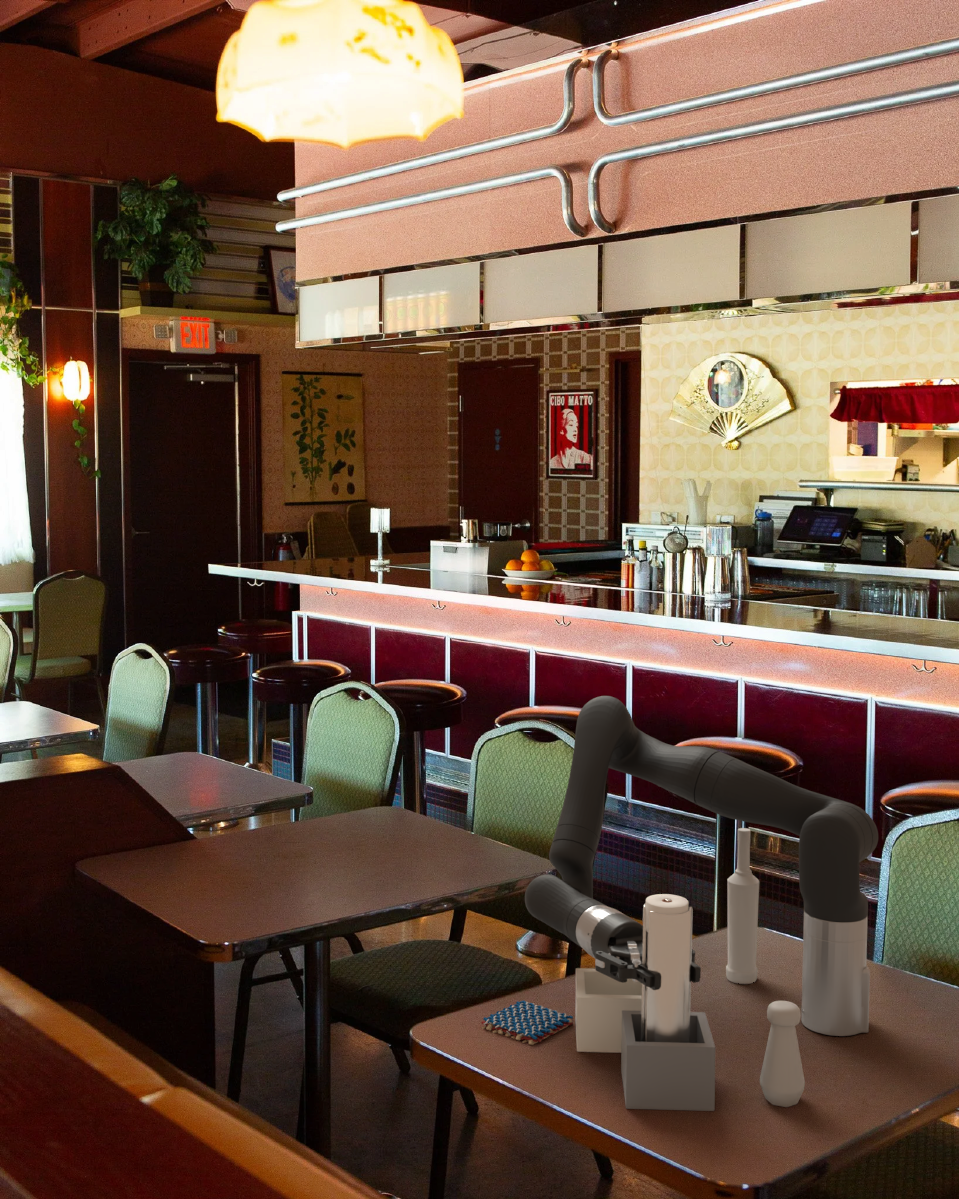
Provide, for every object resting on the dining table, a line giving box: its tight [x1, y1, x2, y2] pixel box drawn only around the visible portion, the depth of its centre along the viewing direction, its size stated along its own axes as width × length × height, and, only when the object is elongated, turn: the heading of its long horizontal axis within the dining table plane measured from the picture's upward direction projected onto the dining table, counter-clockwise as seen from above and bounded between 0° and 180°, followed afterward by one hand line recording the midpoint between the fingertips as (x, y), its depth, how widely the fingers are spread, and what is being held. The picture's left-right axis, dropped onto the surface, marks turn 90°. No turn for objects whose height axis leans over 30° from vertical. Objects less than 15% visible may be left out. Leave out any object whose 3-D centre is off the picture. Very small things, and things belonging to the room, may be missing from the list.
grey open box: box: [620, 1010, 716, 1112], centre depth 174 cm, size 11×11×8 cm
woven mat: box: [481, 1000, 574, 1046], centre depth 195 cm, size 10×11×2 cm
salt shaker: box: [759, 1000, 806, 1108], centre depth 171 cm, size 6×6×13 cm
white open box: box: [574, 967, 642, 1054], centre depth 191 cm, size 11×11×8 cm
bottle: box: [725, 827, 760, 985], centre depth 213 cm, size 5×5×25 cm
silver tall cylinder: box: [641, 893, 694, 1043], centre depth 173 cm, size 6×6×25 cm
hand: (677, 978), depth 171 cm, fingers closed on silver tall cylinder, 5 cm apart
